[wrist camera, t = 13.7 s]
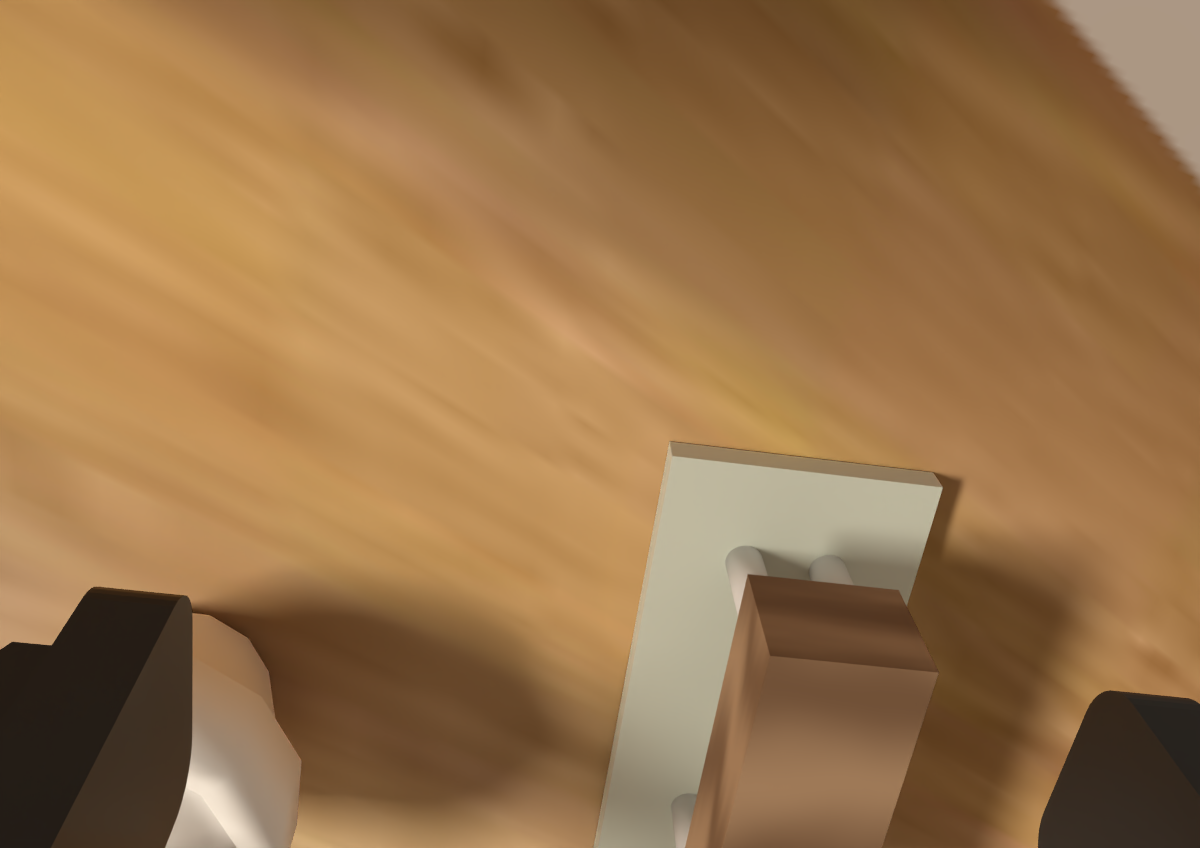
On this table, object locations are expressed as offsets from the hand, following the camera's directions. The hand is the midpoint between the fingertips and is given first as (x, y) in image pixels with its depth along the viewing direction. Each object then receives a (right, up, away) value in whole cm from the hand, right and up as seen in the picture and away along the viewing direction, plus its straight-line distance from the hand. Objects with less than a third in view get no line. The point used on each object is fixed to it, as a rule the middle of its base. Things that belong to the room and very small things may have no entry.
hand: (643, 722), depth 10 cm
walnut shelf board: (+6, -10, +31) cm, 33 cm away
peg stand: (+6, -8, +36) cm, 37 cm away
